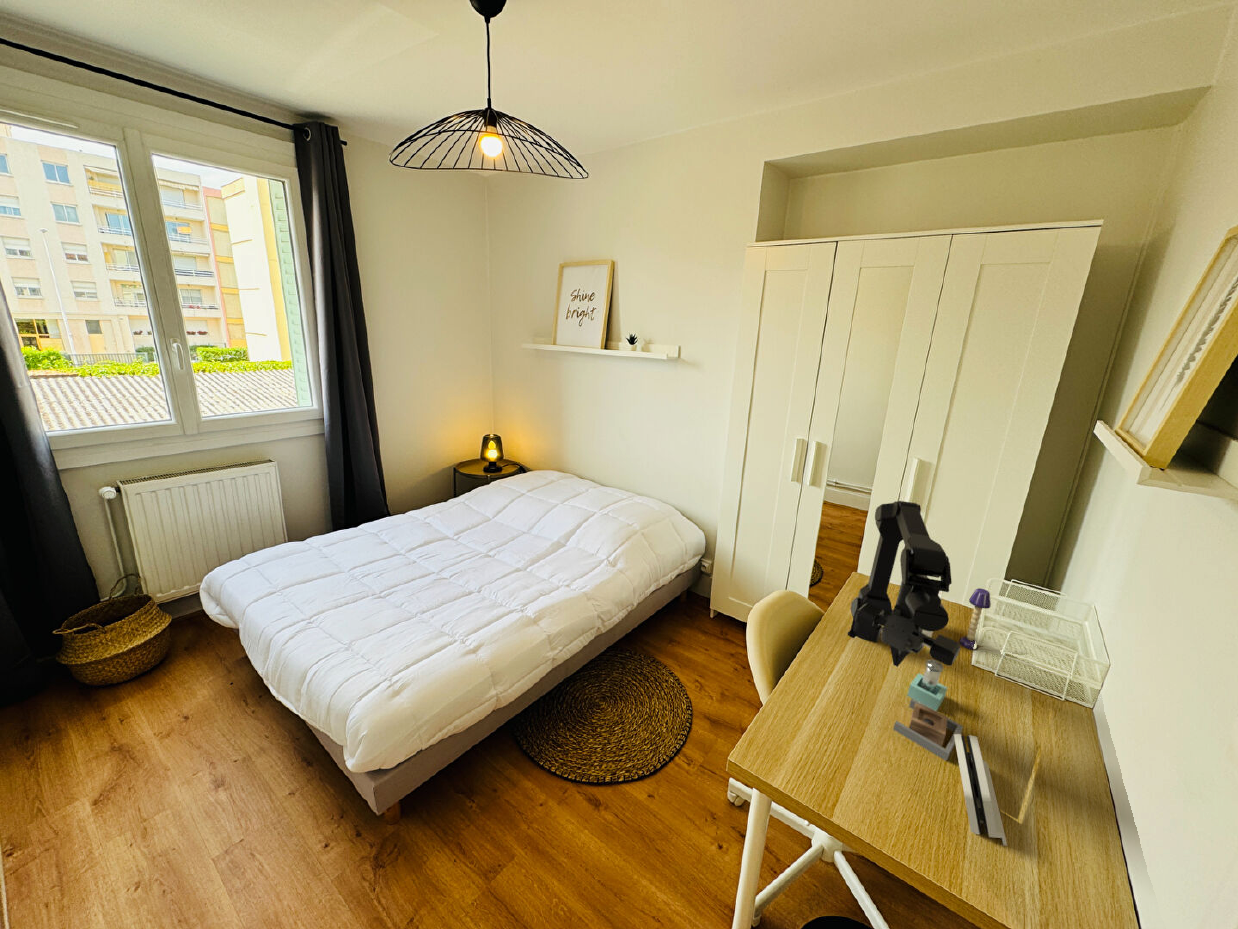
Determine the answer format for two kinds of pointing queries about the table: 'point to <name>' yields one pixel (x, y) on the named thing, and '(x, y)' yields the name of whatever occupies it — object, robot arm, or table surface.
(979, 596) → the toy lamp
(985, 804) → the grey slotted housing
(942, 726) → the walnut block
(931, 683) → the metal cylinder peg
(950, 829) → the table surface
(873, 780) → the table surface
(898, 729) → the grey u-shaped bracket
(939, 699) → the teal block
